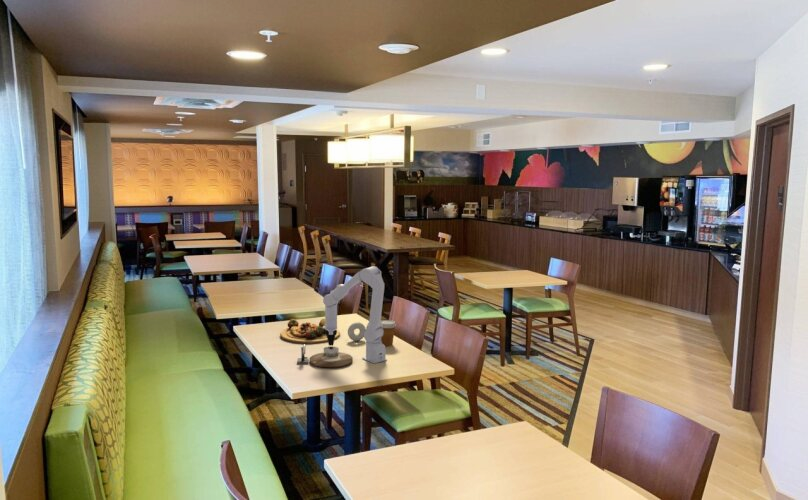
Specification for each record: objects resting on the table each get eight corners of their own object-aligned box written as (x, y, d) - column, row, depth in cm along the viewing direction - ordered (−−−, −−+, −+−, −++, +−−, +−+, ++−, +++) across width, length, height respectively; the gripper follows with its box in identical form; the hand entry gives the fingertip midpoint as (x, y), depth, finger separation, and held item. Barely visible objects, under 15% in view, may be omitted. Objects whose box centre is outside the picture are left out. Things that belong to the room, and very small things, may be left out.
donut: (364, 339, 312) (364, 320, 311) (366, 340, 309) (367, 322, 308) (346, 340, 308) (346, 322, 307) (348, 342, 305) (348, 323, 304)
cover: (341, 355, 278) (341, 348, 278) (328, 357, 274) (328, 351, 274) (333, 351, 284) (333, 345, 283) (320, 354, 279) (320, 348, 279)
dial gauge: (297, 364, 269) (297, 346, 268) (297, 360, 274) (297, 343, 273) (308, 363, 270) (308, 346, 269) (308, 360, 275) (308, 342, 274)
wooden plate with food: (269, 335, 318) (268, 320, 317) (318, 325, 339) (318, 311, 338) (301, 349, 295) (301, 334, 294) (351, 338, 316) (351, 323, 315)
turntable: (361, 361, 272) (361, 359, 272) (324, 370, 260) (324, 368, 259) (336, 351, 288) (336, 349, 287) (301, 359, 275) (301, 357, 274)
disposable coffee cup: (379, 347, 297) (379, 324, 295) (375, 342, 306) (375, 320, 304) (397, 346, 299) (398, 323, 298) (393, 341, 309) (393, 319, 307)
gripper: (323, 314, 292) (323, 340, 294) (322, 321, 278) (322, 349, 279) (337, 314, 293) (337, 340, 294) (337, 321, 278) (337, 349, 280)
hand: (330, 345), depth 287 cm, fingers closed
